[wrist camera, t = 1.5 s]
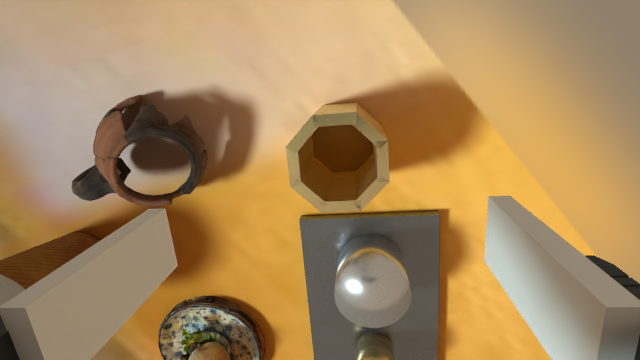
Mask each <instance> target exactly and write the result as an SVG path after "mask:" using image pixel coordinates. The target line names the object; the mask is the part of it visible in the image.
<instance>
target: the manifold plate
mask: <svg viewBox="0 0 640 360" xmlns="http://www.w3.org/2000/svg"><path fill="white" fill-rule="evenodd" d="M300 229H301V239H302V248H303V257H304V267H305V276H306V286H307V295H308V304H309V314H310V323H311V333H312V342H313V351H314V360H438V308H439V243H440V214H439V212H438V211H417V212H391V213H365V214H338V215H312V216H301V217H300Z"/></svg>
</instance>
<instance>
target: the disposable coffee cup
mask: <svg viewBox="0 0 640 360" xmlns="http://www.w3.org/2000/svg"><path fill="white" fill-rule="evenodd" d="M98 242H99V240H98V239H97V238H95V237H93V236H92V235H89V234H87V233H82V232H73V233H69V234H67V235H65V236H62V237H59V238H57V239H54V240H52V241H49V242H47V243H44V244H41V245H39V246H36V247H34V248H31V249H29V250H26V251H24V252H21V253H18V254H16V255H13V256H11V257H8V258H6V259H3V260H0V306H1V305H3V304H4V303H6V302H7V301H9V300H11V299H12V298H14V297H15V296H17V295H18V294H20V293H21V292H23V291H24V290H26V289H27V288H29V287H30V286H32V285H33V284H35V283H36V282H38V281H40V280H41V279H43V278H44V277H46V276H47V275H49V274H50V273H52V272H53V271H55V270H56V269H58V268H59V267H61V266H62V265H64V264H65V263H67V262H69V261H70V260H72V259H73V258H75V257H76V256H78V255H79V254H81V253H82V252H84V251H85V250H87V249H88V248H90V247H91V246H93V245H94V244H96V243H98Z"/></svg>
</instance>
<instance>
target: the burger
mask: <svg viewBox="0 0 640 360" xmlns="http://www.w3.org/2000/svg"><path fill="white" fill-rule="evenodd" d="M186 301H187V302H186ZM256 324H257V325H256ZM259 327H260V326H259V324H258V323H257V322H256V320H255V319H254V318H253V317H252V316H251V315H250V314H249V313H248V312H247V311H246V310H244V309H243V308H241V307H240V306H238V305H237V304H235V303H233V302H230V301H228V300H226V299H222V298H218V297H213V296H199V298H198V297H197V298H194V301H193V300H192V299H190V300H185V301H183V302H182V303H179V304H177V305H176V306H175V307H174V308H173V310H172V311H171V312H170V313H169V314H168V315H167V317H166V318H165V319H164V321H163V322H162V324H161V326H160V330H159V348H160V352H161V355H162V357H163V359H164V360H263V357H264V353H265V340H264V338H263V337H262V333H261V332H262V330H260V329H261V328H259Z"/></svg>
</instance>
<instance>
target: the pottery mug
mask: <svg viewBox="0 0 640 360" xmlns="http://www.w3.org/2000/svg"><path fill="white" fill-rule="evenodd" d="M141 99H142V98H141V96H140V95H137V96H134V97H131V98H128V99H126V100H124V101H123V102H121V103H119V104H117V105H116V107H114V108H113V109H111V110H110V111H109V112H108V113H107V114H106V115H105V116H104V118H103V119H102V121H101V122H100V124H99V126H98V128H97V130H96V136H95V140H94V144H93V152H94V155H95V156H96V157H95V165H94V166H93V167H91V168H89V169H87V170H86V171H84V172H83V173H82V174H80V175H79V176H77V177H76V178H75V179H74V180H73V181H72V190H73V193H74V194H75V195H77V196H79V197H80V198H81V199H84V200H89V201H92V200H96V199H99V198H101V197H103V196H105V195H107V194H109V193H117V194H118V195H119V196H120V197H122V198H124V199H126V200H128V201H129V202H132V203H135V204H137V205H141V206H149V207H160V206H166V205H170V204H172V199H174V198H176V197H179V196H181V195H183V194H190V193H191V192H192V191H193V190H194V189H195V187H196V186H197V184H198V183H199V182H200V181H201V179H202V177H203V175H204V172H205V169H206V165H207V151H206V150H204V143H203V141H202V140H201V138H200V137H199V136H198V134H197V133H196V132H195V130H194V128H193V127H192V125H191V122H190V120H189V118H188V117H187V116H184V118H183V119H181V120H179V121H178V122H176V123H175V124H173V125H169V124H168V121H167V118H166V117H165V116H164V115H163V114H162V113H160V112H158V111H157V109H156V108H155V107H154V106H150V105H143V106H141V109H140V113H139V114H138V115H137V116H136V117H135V120H134V122H133V123H132V125H131V126H130V128H129V129H128V130H127V128H126V127H125V124H124V116H123V114H122V111H123V110H124V109H126V108H127V107H128V106H130V105H133V104H135V103H137V102H138V101H140V100H141ZM146 137H161V138H166V139H170V140H172V141H174V142H176V143H177V144H179V145H180V146H181V147H182V148H183V149H184V150H185V151H186V152H187V153H188V155H189V157H190V160H191V173H190V176H189V178H188V179H187V181H186V182H185V183H184V184H183V185H182V186H180V187H179V188H178V190H176V191H174V192H172V193H168V194H163V195H145V194H141V193H138V192H136V191H134V190H132V189H130V188H129V187H127V186H126V185H125V184H124V181H125V179H126V178H127V176H128V174H129V173H130V172H131V170H130V169H129V168H128V167H127V165H126V164H125V163H124V161H123V160H122V159H121V158H119V156H120V154H121V153H122V151H123V150H124V149H125V148H126V147H127V146H128V145H130V144H131V143H132V142H133V141H136V140H139V139H142V138H146Z"/></svg>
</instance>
